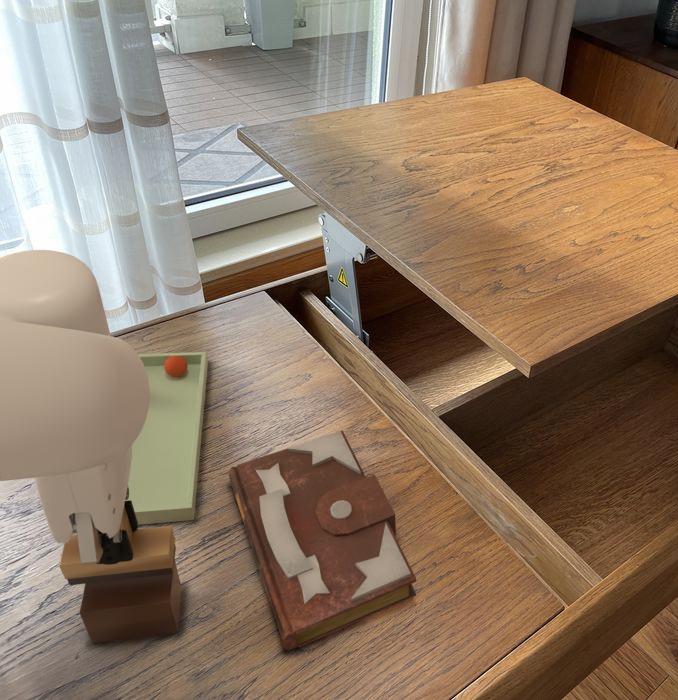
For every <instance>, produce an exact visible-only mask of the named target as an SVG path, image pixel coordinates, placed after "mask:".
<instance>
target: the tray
mask: <svg viewBox="0 0 678 700" xmlns="http://www.w3.org/2000/svg"><path fill="white" fill-rule="evenodd" d="M137 354H138V355H139V357H140V359H141V360H142V362H143V364H144V367H145V369H146V372H147V376H148V380H149V387H150V402H149V409H148V413H147V417H146V420H145V423H144V426H143V428H142V430H141V432H140V434H139V435H138V437H137V439H136V440H135V441H134V443H133V444H132V461H131V468H130V474H129V480H128V487H129V499H128V500H125V501H130V500H131V501H132V504H133V508H134V511H135V515H136V518H137V522H138V526H141V525H142V526H143V525H153V524H162V523H163V524H164V523H174V522H175V523H176V522H186V521H187V522H188V521H194V520H195V514H196V504H197V503H196V501H197V491H198V482H199V481H198V480H199V468H200V457H201V447H202V435H203V424H204V413H205V404H206V403H205V402H206V391H207V381H208V379H207V378H208V368H209V361H208V355H207V351H192V352H190V351H189V352H187V351H186V352H163V353H162V352H161V353H137ZM174 355H177V356H181V357H183V358H184V359H185V360H186V362H187V365H188V367H187V371H186V372H185V373H184V374H183V375H182V376H179V377H172V376H170V375H168V374H167V373H166V371H165V369H164V364H165V361H166V360H167V359H168V358H169V357H171V356H174ZM73 527H74V528H73V531H72V532H74V531H76V525H73Z"/></svg>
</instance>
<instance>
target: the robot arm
mask: <svg viewBox="0 0 678 700" xmlns="http://www.w3.org/2000/svg"><path fill="white" fill-rule="evenodd" d="M102 299H103V298H102V295H101V290H100V287H99V285H98V281H97V278H96V276H95V275H94V273H93V272H92V269H90V267H89V266H88V265H87V264H86V263H85V262H83V261H82V260H80V259H79V258H78V257H76V256H73V255H71V254H69V253H66V252H62V251H57V250H51V249H31V250H23V251H18V252H17V251H16V252H13V253H9V254H7V255H4V256H2V257H0V482H7V481H16V480H26V479H34V481H35V486H36V490H37V494H38V497H39V501H40V504H41V508H42V511H43V514H44V517H45V520H46V523H47V527H48V529H49V531H50V534H51V536H52V539H53V540H54V541H55V542H56V543H57V544H64V543H68V542H69V540H70V537H71V535H73V532H74V531H73V528H74V527H73V525H76V530H75V531H76V535H77V538H78V546H79V553H80V561H81V564H92V563H96V564H105V565H111V564H117V563H119V562H125V561H131V560H132V559H133V550H132V547H131V544H130V541H129V537H128V534H127V531H126V530H122V529H121V526H120V524H121V519H122V514H123V509H124V507H125V510H126V513H127V516H128V520H129V523H130V526H131V529H132V532H135V531H136V530H137V529H139V525H138V522H137V518H136V515H135V511H134V508H133V504H132V501H131V500H130V501H125V500H128V499H129V487H128V480H129V474H130V468H131V461H132V444H133V443H134V441H135V440H136V439H137V437H138V435H139V434H140V432H141V430H142V428H143V426H144V423H145V420H146V417H147V413H148V409H149V402H150V387H149V380H148V376H147V372H146V369H145V367H144V364H143V362H142V360H141V359H140V357H139V355H138V354H139V353H137V351H136V350H135V348H134V347H132V346H131V345H130V344H129V343H127V342H126V341H125V340H123V339H121V338H119V337H115V336H112V335H111V331H110V327H109V323H108V320H107V316H106V311H105V307H104V304H103V300H102Z"/></svg>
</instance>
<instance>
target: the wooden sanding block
mask: <svg viewBox="0 0 678 700" xmlns="http://www.w3.org/2000/svg"><path fill="white" fill-rule="evenodd" d="M120 526H121V529H122V530H126V531H127V534H128V537H129V541H130V544H131V547H132V550H133V559H132V560H131V561H125V562H119V563H117V564H111V565H105V564H96V563H92V564H81V561H80V553H79V546H78V538H77V534H71V537H70V540H69V542H68V543H63V547H62V552H61V555H60V560H59V564H58V567H59V569H60V572H61V573H62V576H63V577H64V580H66V581H67V582H68V583H67V584H68V585H69V586H75V585H85V584H87V583H96V582H105V581H114V580H123V579H132V578H141V577H150V576H159V575H168V574H173V570H174V561H175V562H176V551H177V546H176V536H175V534H174V533H175V532H174V529H173V526H172V525H164V526H155V527H154V526H152V527H144V528H143V527H142V528H137V530H136V531H135V532H132V529H131V526H130V523H129V520H128V516H127V513H126V510H125V507H124V509H123V514H122V519H121V524H120Z"/></svg>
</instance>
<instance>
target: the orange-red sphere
mask: <svg viewBox="0 0 678 700" xmlns="http://www.w3.org/2000/svg"><path fill="white" fill-rule="evenodd" d="M187 367H188V365H187V362H186V360H185V359H184V358H183V357H181V356H177V355H174V356H171V357H169V358H168V359H167V360H166V361H165V364H164V369H165V371H166V373H167V374H168V375H170V376H172V377H179V376H182V375H183V374H184V373H185V372H186V371H187Z"/></svg>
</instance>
